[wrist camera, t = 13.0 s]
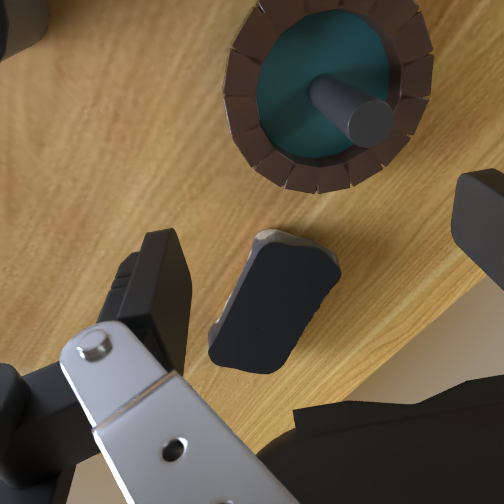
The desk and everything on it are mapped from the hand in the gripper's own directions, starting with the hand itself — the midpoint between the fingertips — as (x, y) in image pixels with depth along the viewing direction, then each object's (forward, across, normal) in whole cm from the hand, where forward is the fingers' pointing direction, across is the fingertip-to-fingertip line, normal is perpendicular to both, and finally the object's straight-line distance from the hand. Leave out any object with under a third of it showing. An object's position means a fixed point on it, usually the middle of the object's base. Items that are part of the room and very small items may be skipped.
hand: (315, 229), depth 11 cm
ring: (+20, -5, 0) cm, 20 cm away
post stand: (+21, -5, 0) cm, 21 cm away
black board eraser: (+21, +2, +19) cm, 29 cm away
